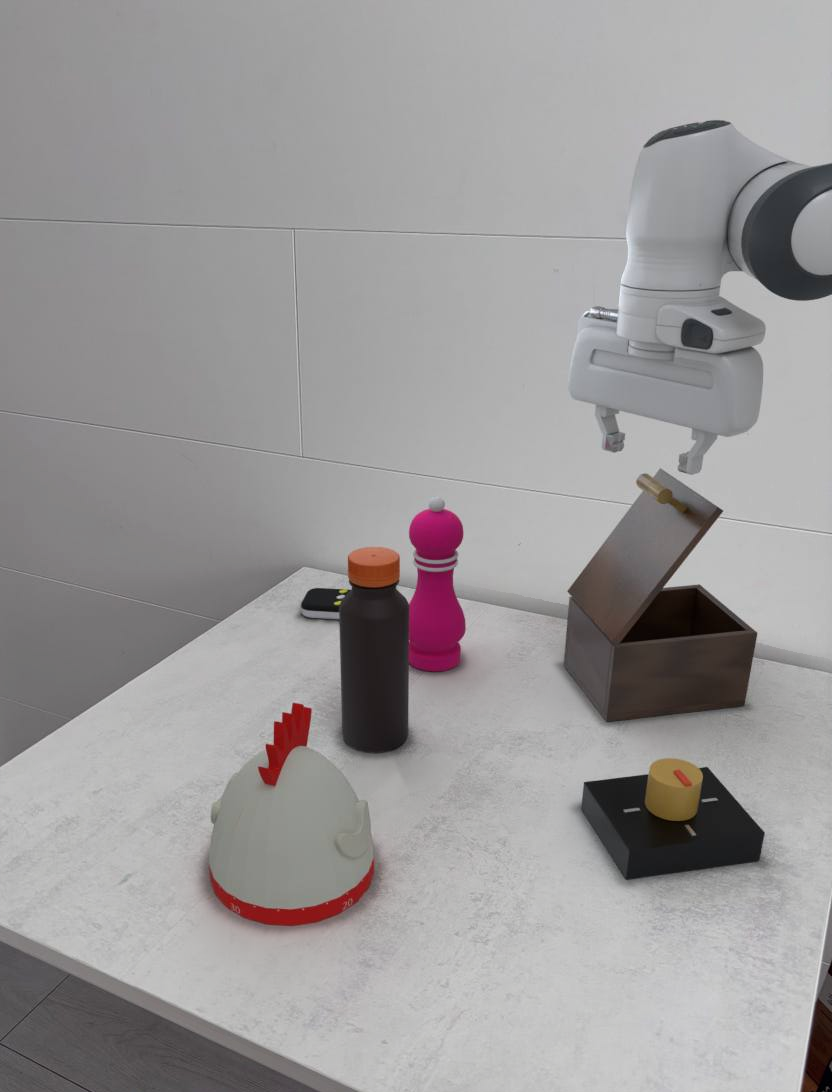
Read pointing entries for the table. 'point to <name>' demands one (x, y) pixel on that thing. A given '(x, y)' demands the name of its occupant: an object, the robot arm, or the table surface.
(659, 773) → the lock dial
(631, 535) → the chest lid
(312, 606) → the remote control
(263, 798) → the kitchen timer
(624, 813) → the rotary knob base
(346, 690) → the bottle
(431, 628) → the pepper mill
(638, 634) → the chest
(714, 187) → the robot arm
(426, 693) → the table surface
